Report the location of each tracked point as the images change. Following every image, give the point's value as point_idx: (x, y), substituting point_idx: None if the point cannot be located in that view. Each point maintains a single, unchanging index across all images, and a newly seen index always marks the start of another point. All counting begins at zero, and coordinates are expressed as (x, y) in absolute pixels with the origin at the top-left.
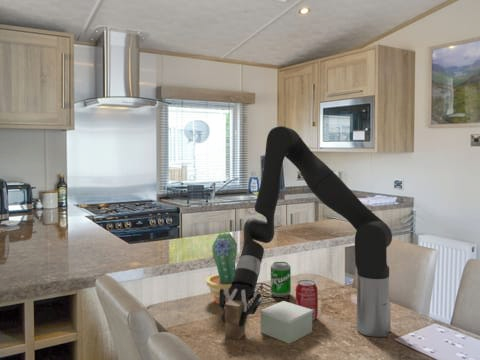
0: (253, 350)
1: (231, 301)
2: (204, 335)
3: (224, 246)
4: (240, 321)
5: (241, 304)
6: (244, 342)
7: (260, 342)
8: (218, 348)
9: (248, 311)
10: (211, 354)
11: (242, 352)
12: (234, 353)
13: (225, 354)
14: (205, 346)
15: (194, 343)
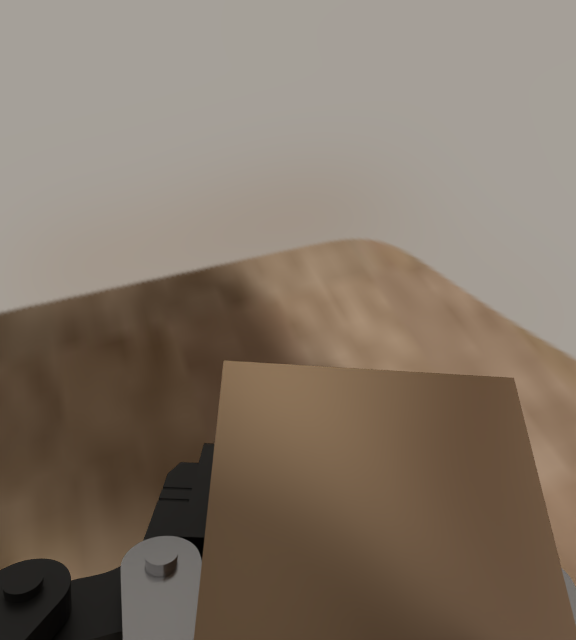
0: (77, 359)
1: (491, 584)
2: (543, 487)
3: None
4: (211, 454)
5: (209, 503)
6: (174, 465)
7: (28, 511)
8: (328, 322)
9: (93, 587)
10: (332, 250)
11: (152, 314)
12: (201, 291)
13: (252, 268)
14: (421, 325)
15: (512, 343)
